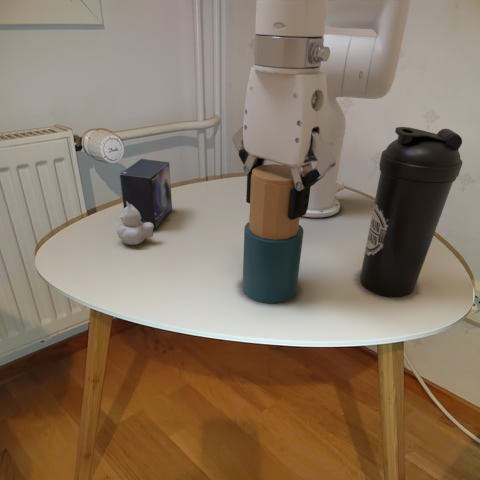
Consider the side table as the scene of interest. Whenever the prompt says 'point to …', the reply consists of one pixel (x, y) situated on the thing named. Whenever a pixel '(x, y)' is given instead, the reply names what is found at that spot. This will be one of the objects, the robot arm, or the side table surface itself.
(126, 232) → the rubber duck
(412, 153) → the water bottle
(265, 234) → the light brown faceted cylinder
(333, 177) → the robot arm
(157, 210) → the small box
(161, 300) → the side table surface
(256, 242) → the teal bottle
